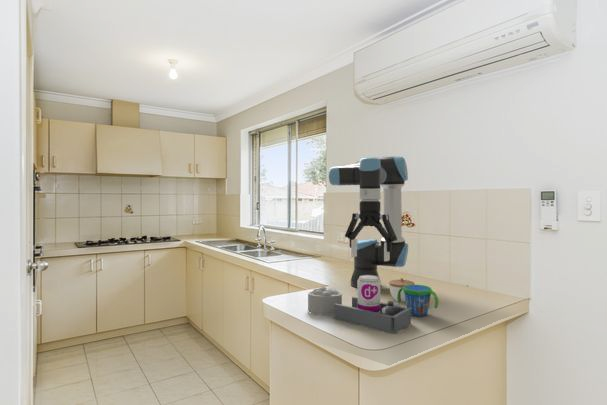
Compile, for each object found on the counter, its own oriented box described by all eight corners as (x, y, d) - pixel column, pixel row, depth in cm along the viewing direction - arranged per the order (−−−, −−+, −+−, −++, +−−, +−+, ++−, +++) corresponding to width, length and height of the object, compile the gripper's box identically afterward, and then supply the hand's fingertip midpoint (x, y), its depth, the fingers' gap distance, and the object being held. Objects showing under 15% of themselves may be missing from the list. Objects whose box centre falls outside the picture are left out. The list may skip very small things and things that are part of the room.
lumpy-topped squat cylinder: (343, 313, 143) (343, 291, 143) (310, 316, 140) (310, 293, 140) (336, 306, 153) (336, 285, 153) (305, 307, 151) (305, 286, 151)
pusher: (380, 325, 126) (381, 304, 126) (394, 318, 134) (394, 298, 134) (386, 326, 125) (386, 305, 125) (399, 319, 132) (399, 299, 132)
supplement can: (380, 322, 130) (380, 280, 130) (356, 320, 132) (356, 279, 131) (380, 315, 138) (380, 275, 138) (357, 313, 140) (358, 274, 139)
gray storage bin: (334, 318, 137) (334, 304, 137) (353, 310, 147) (353, 296, 147) (394, 334, 121) (394, 317, 121) (410, 323, 131) (411, 308, 131)
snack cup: (392, 312, 145) (392, 286, 144) (406, 306, 152) (406, 281, 152) (429, 321, 133) (429, 293, 133) (442, 315, 141) (443, 288, 141)
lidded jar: (415, 297, 165) (415, 276, 165) (414, 304, 155) (414, 282, 155) (390, 295, 169) (390, 275, 168) (388, 302, 158) (388, 280, 158)
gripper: (335, 200, 139) (336, 256, 140) (397, 201, 123) (396, 264, 124) (346, 200, 145) (347, 253, 146) (406, 200, 129) (406, 261, 130)
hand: (369, 258), depth 135 cm, fingers open, 13 cm apart
